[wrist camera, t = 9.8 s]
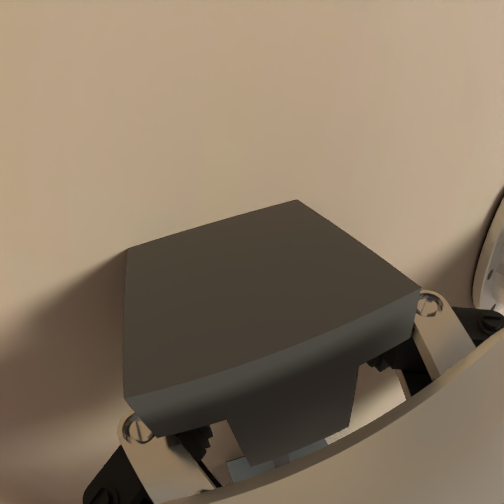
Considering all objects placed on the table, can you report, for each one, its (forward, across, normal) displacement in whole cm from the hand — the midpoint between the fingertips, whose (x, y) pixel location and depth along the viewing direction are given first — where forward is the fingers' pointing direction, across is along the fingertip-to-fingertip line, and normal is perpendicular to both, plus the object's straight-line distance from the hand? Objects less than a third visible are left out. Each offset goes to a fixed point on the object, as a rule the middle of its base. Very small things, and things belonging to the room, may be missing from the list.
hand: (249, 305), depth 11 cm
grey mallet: (+1, +1, +9) cm, 9 cm away
